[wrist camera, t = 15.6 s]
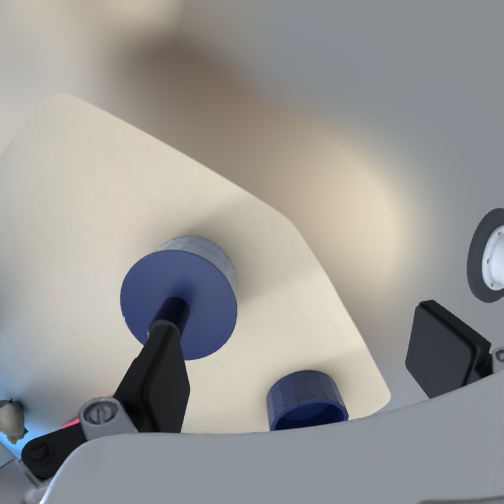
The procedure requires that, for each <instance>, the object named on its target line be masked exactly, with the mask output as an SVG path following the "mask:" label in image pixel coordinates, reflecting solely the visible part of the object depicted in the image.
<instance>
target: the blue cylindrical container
mask: <svg viewBox="0 0 504 504" xmlns="http://www.w3.org/2000/svg"><path fill="white" fill-rule="evenodd" d="M267 411H268V421H269V430H270V431H278V430H288V429H297V428H305V427H312V426H319V425H326V424H332V423H337V422H343V421H348V418H349V415H348V413H347V410H346V407H345V405H344V402H343V400H342V398H341V395H340V393H339V391H338V388H337V386H336V384H335V382H334V381H333V379H332V378H331V377H329V376H328V375H326V374H324V373H322V372H318V371H309V370H308V371H299V372H295V373H292V374H289V375H287V376H285V377H283V378H282V379H280V380H279V381H277V382H276V383H275V384H274V385H273V386H272V388H271V389H270V391H269V393H268V395H267Z"/></svg>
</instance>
